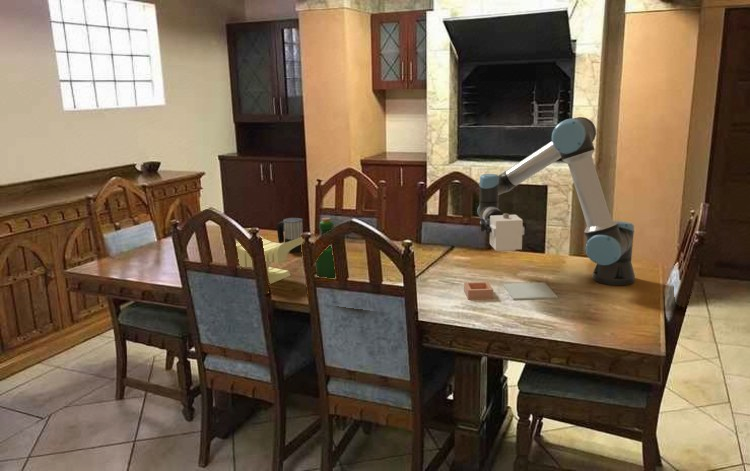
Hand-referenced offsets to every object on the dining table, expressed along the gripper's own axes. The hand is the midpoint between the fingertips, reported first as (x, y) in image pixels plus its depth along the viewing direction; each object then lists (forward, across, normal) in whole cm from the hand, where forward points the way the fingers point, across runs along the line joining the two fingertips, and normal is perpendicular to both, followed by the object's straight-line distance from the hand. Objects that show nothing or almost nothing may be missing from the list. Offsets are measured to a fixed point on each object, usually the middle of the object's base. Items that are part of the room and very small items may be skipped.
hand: (509, 231), depth 213 cm
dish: (-3, +10, -24) cm, 26 cm away
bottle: (-15, +65, -24) cm, 71 cm away
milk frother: (-72, +87, -23) cm, 115 cm away
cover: (-4, 0, -8) cm, 9 cm away
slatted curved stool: (-32, +92, -24) cm, 100 cm away
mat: (-4, -9, -24) cm, 26 cm away
